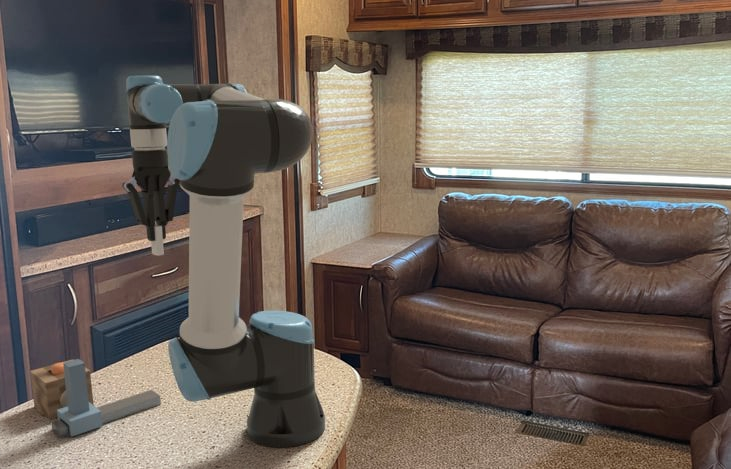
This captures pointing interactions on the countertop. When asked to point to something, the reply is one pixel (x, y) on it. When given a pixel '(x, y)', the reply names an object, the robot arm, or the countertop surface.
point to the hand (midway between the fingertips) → (158, 254)
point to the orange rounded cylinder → (57, 368)
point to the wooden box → (52, 391)
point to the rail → (115, 410)
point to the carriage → (78, 401)
